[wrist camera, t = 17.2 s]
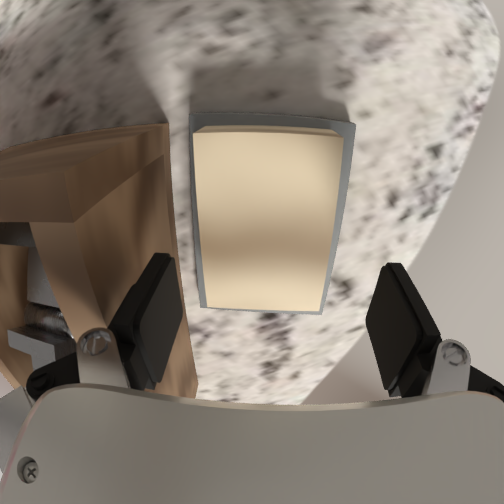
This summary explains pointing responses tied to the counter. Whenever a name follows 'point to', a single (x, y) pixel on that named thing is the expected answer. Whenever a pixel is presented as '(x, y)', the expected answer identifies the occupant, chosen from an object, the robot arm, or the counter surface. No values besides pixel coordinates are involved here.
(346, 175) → the slate board
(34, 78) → the counter surface
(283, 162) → the maple block
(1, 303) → the wooden box
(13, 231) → the rocker
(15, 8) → the counter surface
